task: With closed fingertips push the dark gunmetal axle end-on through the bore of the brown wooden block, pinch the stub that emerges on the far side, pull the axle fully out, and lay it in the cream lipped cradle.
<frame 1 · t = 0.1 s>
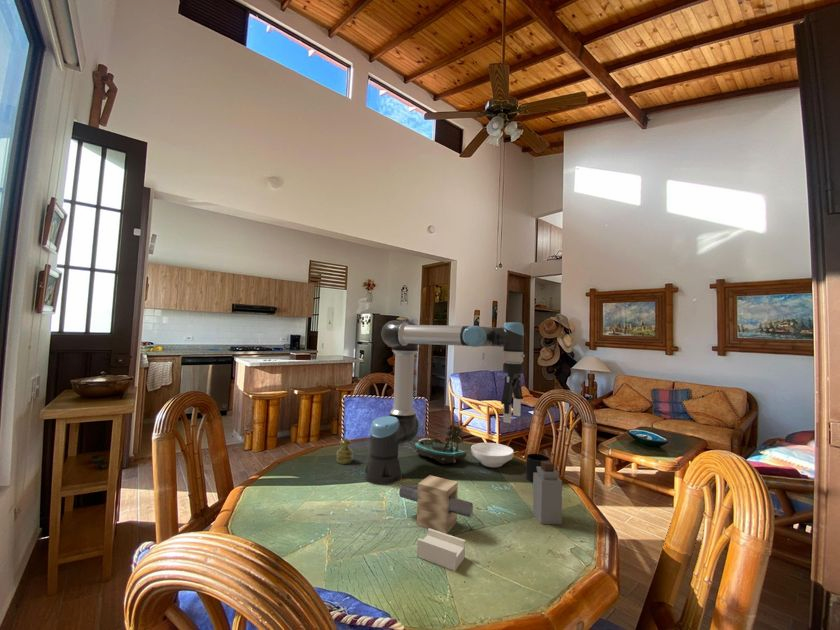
hand: (512, 419, 136), 28 cm above the table, fingers open, 13 cm apart
diorama: (439, 458, 172), on the table
cradle: (446, 558, 95), on the table
axle: (434, 506, 113), point 5 cm above the table, touching brown wooden block
olive ridged vase: (344, 461, 164), on the table
bowl: (491, 465, 166), on the table
mug: (540, 480, 149), on the table
perfume bottle: (546, 519, 117), on the table
brown wooden block: (436, 523, 112), on the table
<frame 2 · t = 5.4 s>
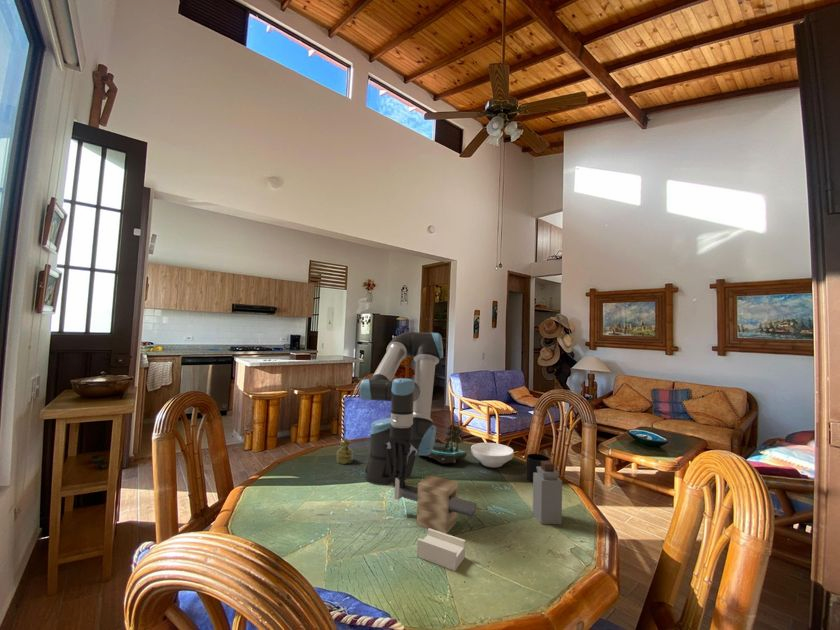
hand: (398, 497, 119), 5 cm above the table, fingers closed
axle: (437, 506, 112), point 5 cm above the table, tilted 11°, touching brown wooden block, gripper
everything else where it was.
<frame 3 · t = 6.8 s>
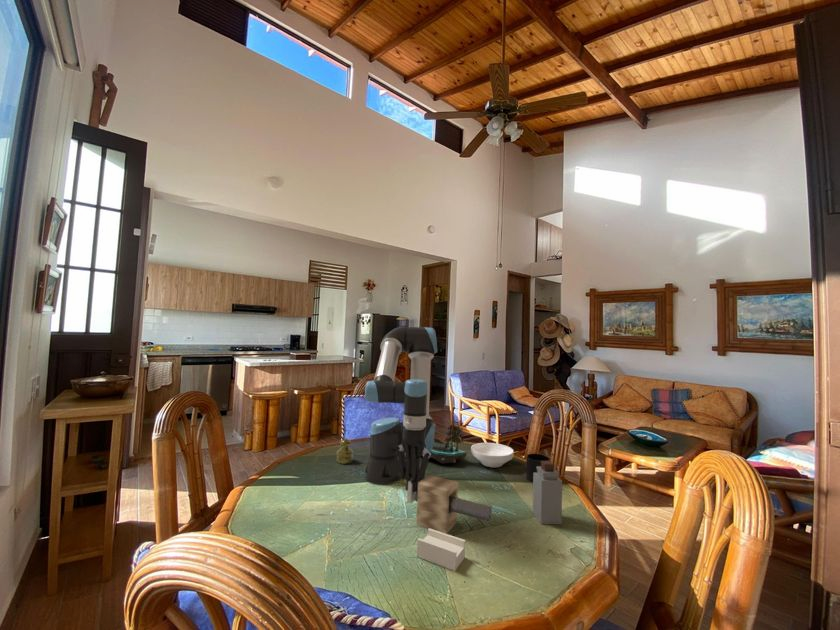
hand: (411, 501, 116), 5 cm above the table, fingers closed
axle: (451, 510, 110), point 5 cm above the table, tilted 10°, touching brown wooden block, gripper
everything else where it was.
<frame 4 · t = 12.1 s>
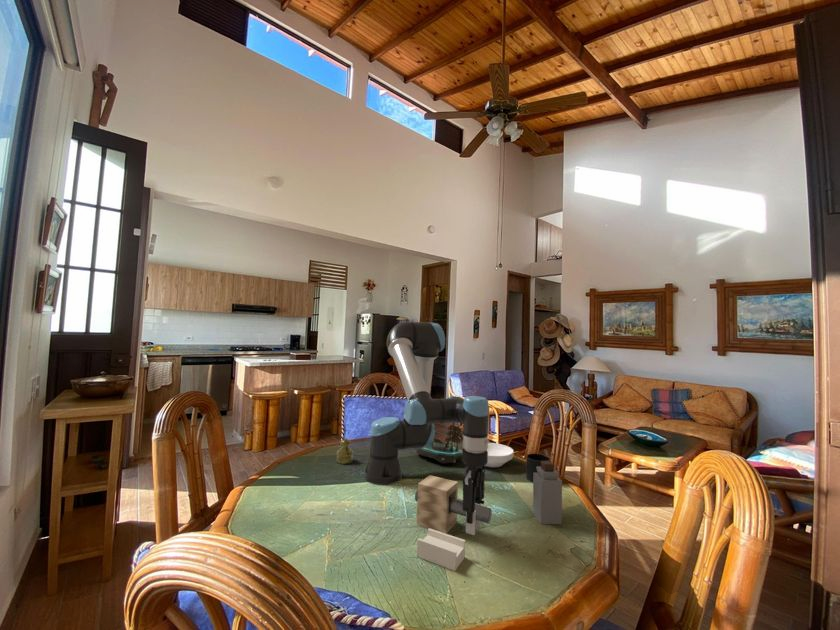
hand: (473, 529, 106), 2 cm above the table, fingers closed on axle, 4 cm apart
axle: (451, 511, 110), point 5 cm above the table, tilted 5°, touching brown wooden block, gripper
everything else where it was.
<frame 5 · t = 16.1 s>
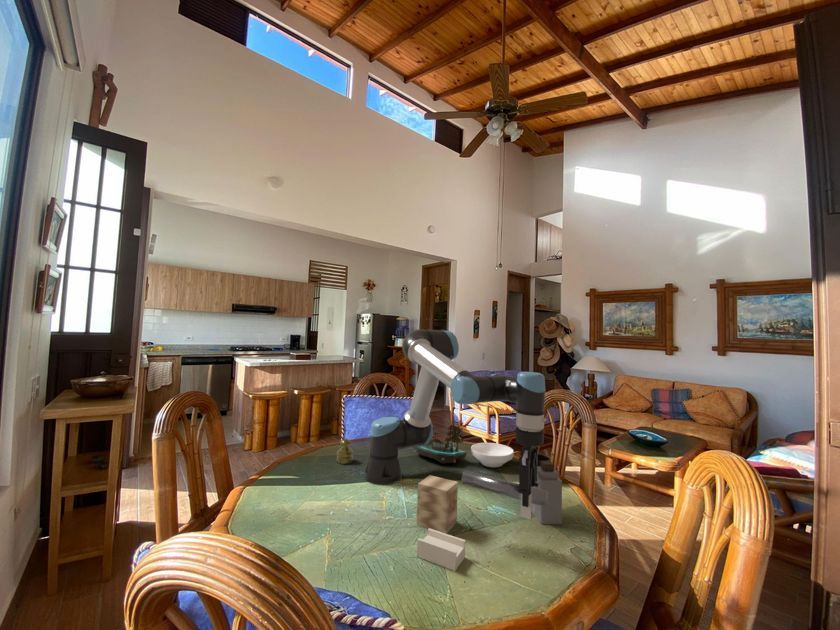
hand: (527, 513, 99), 10 cm above the table, fingers closed on axle, 4 cm apart
axle: (502, 494, 103), point 14 cm above the table, tilted 6°, touching gripper
everything else where it was.
when the fingers open (2 cm above the table, at t = 20.3 s): axle drops 2 cm, resting on cradle.
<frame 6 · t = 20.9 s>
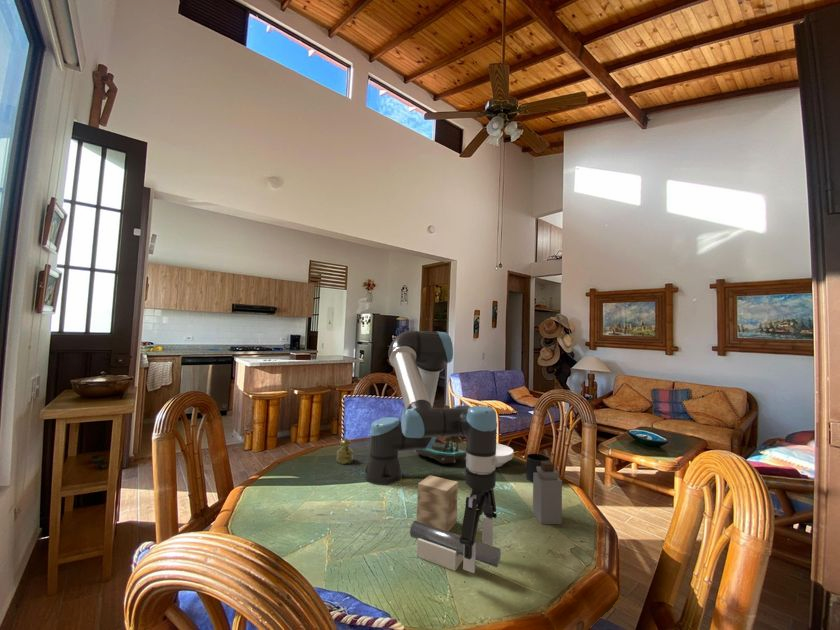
hand: (478, 555, 90), 4 cm above the table, fingers open, 13 cm apart
axle: (453, 549, 94), point 3 cm above the table, tilted 12°, touching cradle
everything else where it was.
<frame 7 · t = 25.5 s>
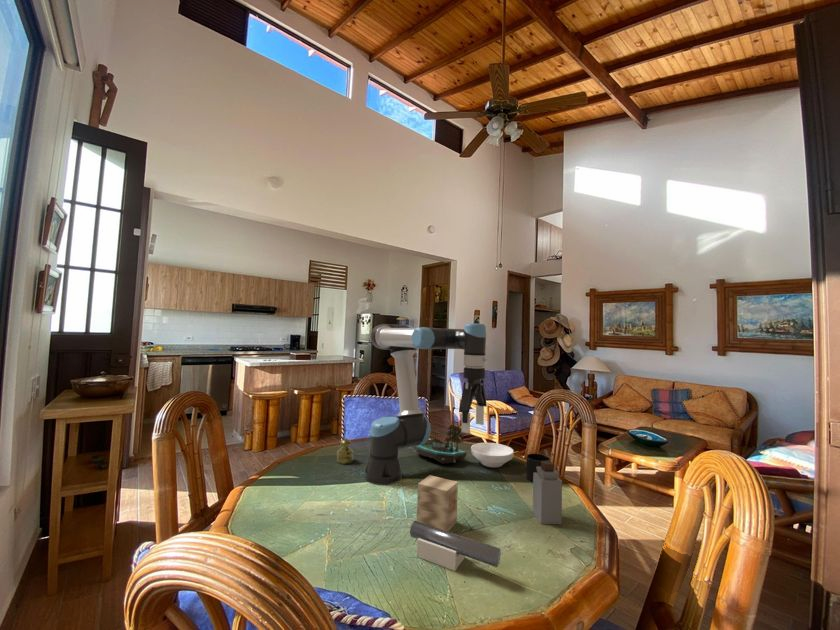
hand: (473, 428, 125), 27 cm above the table, fingers open, 13 cm apart
nothing on the table moved.
at the end: axle 2.0 cm off-centre on the cradle, point 2.9 cm above the cradle's base; the gripper is holding nothing; axle touching cradle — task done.
